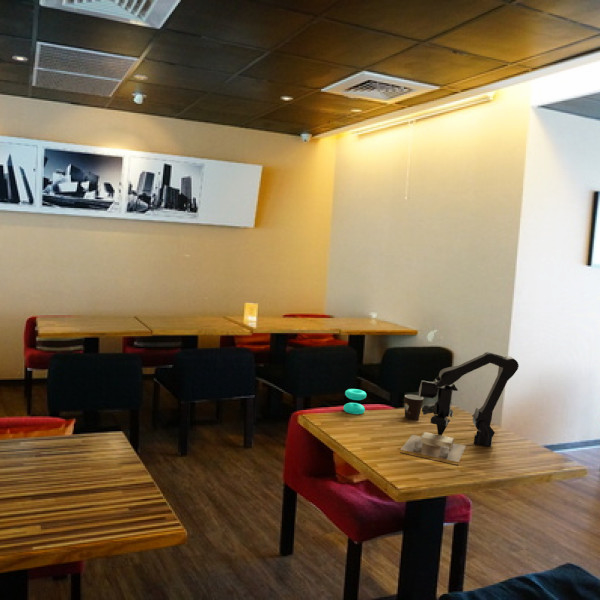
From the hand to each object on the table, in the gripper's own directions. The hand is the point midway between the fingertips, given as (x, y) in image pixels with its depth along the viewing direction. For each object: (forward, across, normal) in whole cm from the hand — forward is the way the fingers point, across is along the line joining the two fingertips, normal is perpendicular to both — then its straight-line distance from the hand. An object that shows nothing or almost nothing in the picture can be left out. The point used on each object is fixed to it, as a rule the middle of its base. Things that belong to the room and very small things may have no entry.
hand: (439, 436), depth 256 cm
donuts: (+3, -20, -43) cm, 48 cm away
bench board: (+2, +13, 0) cm, 13 cm away
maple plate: (+1, +7, 0) cm, 7 cm away
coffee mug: (+3, -30, -18) cm, 35 cm away
